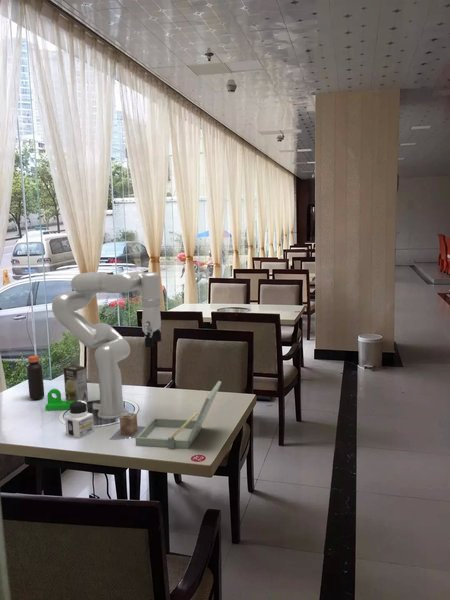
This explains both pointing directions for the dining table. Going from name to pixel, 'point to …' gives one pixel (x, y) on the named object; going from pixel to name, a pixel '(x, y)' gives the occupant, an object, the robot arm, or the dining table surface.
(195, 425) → the case
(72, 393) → the coffee box
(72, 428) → the container
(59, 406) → the mechanical part
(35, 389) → the bottle
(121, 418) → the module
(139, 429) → the mat
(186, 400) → the dining table surface
